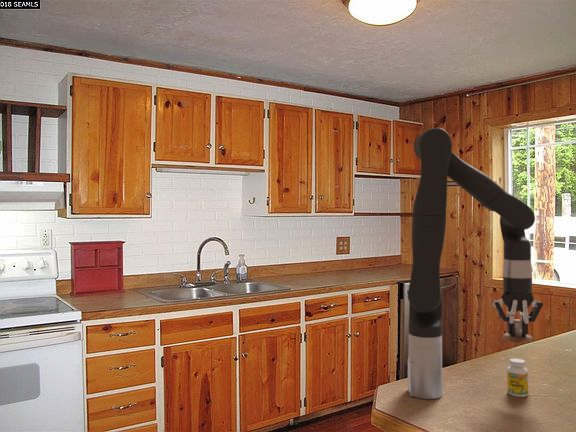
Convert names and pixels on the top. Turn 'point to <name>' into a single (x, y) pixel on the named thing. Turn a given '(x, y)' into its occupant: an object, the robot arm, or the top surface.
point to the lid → (517, 333)
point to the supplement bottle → (517, 378)
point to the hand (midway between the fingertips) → (517, 335)
